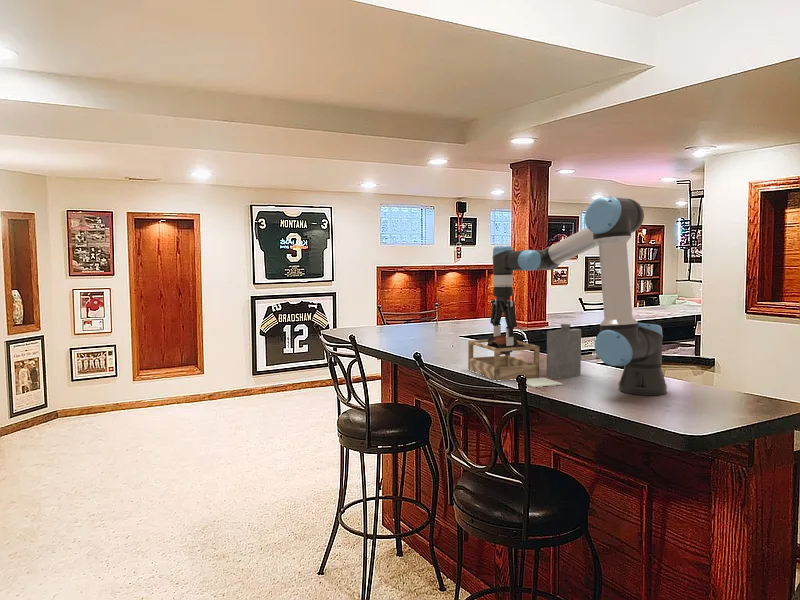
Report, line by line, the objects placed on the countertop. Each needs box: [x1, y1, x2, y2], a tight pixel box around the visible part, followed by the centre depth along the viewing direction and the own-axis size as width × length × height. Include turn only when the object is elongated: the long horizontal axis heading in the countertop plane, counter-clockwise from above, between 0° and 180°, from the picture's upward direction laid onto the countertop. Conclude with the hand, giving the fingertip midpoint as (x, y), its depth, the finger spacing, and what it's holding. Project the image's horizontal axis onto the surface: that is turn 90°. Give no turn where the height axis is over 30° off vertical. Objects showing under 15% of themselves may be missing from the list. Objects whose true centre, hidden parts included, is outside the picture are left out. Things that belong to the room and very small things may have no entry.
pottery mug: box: [486, 334, 519, 356], centre depth 238 cm, size 12×10×8 cm
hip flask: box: [546, 323, 582, 379], centre depth 234 cm, size 16×4×20 cm, turn 118°
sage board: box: [526, 376, 564, 389], centre depth 222 cm, size 12×12×1 cm
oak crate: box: [467, 339, 540, 382], centre depth 239 cm, size 24×18×12 cm
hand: (503, 343), depth 238 cm, fingers closed on pottery mug, 9 cm apart
